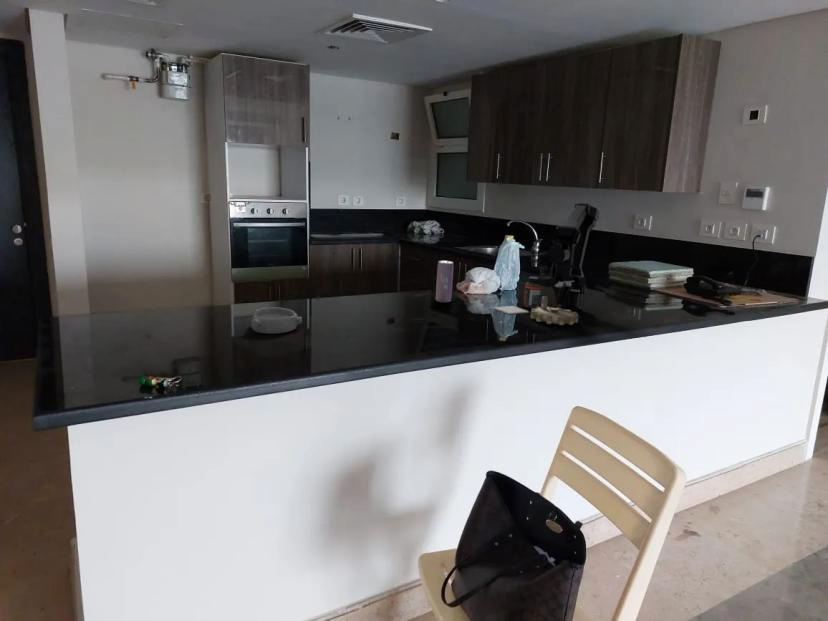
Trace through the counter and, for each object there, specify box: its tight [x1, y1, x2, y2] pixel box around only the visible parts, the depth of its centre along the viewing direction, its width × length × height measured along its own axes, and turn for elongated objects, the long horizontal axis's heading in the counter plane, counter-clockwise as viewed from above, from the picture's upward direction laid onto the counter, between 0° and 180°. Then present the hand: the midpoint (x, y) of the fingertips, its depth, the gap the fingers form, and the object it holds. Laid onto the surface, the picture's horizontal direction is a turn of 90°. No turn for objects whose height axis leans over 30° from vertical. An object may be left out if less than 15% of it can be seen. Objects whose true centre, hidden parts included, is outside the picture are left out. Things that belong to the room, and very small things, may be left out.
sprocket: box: [530, 295, 579, 326], centre depth 196 cm, size 16×16×7 cm
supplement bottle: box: [523, 276, 542, 309], centre depth 215 cm, size 6×6×11 cm
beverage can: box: [435, 260, 454, 303], centre depth 216 cm, size 6×6×15 cm
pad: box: [493, 305, 529, 315], centre depth 208 cm, size 9×9×1 cm
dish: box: [250, 306, 303, 334], centre depth 168 cm, size 14×14×5 cm
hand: (558, 304), depth 203 cm, fingers closed
